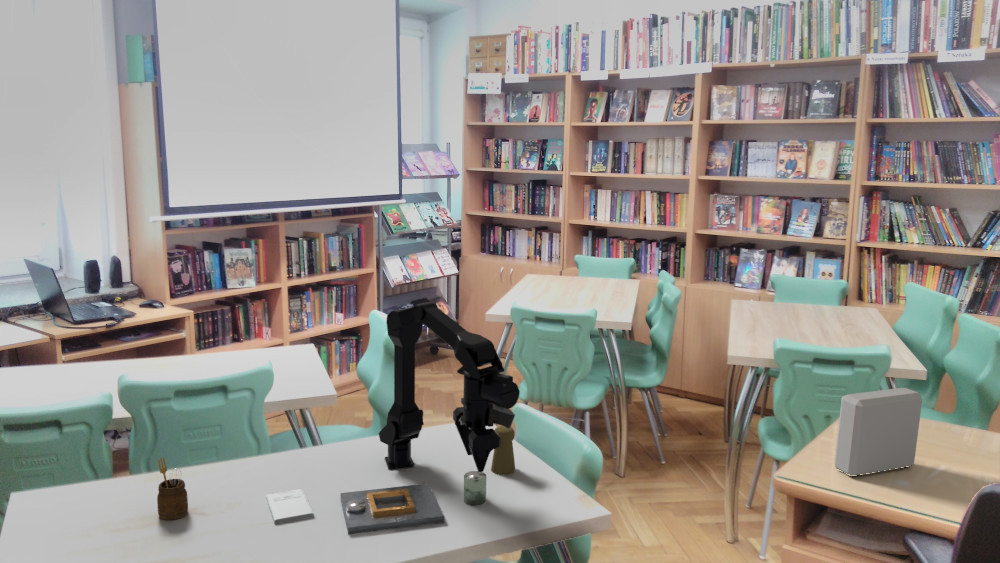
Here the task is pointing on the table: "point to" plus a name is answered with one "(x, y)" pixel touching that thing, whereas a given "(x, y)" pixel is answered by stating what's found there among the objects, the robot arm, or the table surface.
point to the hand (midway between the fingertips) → (475, 463)
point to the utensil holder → (171, 496)
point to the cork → (504, 452)
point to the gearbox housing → (369, 518)
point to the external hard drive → (289, 506)
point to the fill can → (474, 488)
